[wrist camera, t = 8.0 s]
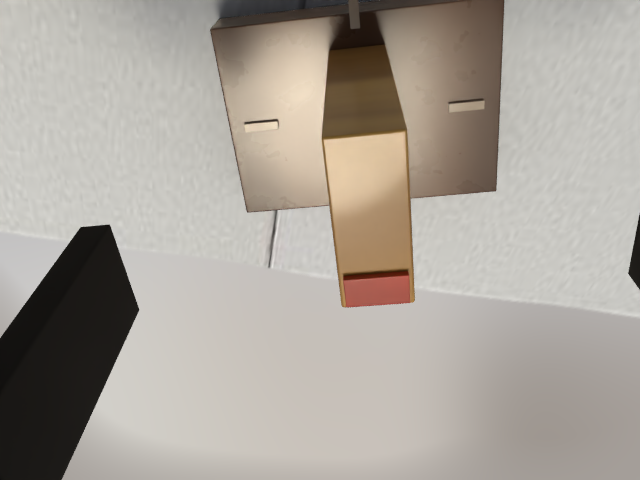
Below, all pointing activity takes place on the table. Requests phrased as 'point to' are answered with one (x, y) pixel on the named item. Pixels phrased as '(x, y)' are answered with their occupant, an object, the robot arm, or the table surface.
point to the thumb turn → (368, 178)
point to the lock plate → (410, 78)
